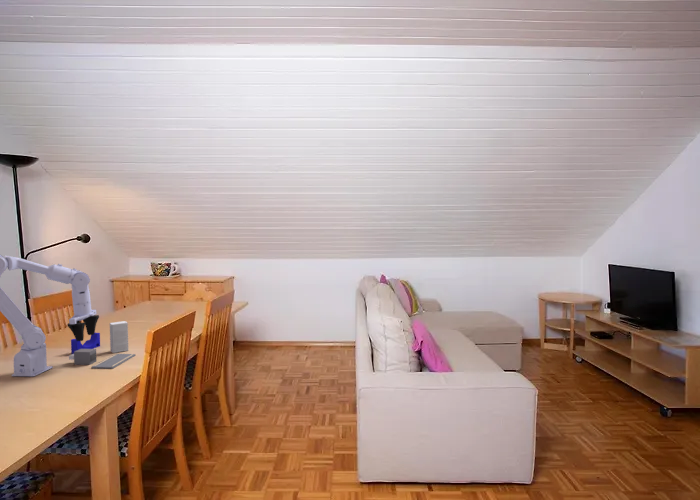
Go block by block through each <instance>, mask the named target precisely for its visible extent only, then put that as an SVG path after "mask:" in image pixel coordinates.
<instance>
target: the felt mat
mask: <svg viewBox="0 0 700 500" xmlns="http://www.w3.org/2000/svg"><path fill="white" fill-rule="evenodd" d="M135 356H136V353H115V354H113V355H111V356H109V357H107V358H105V359H104V360H102V361H100V362H98V363H96V364H94V365H92V366H90V368H91V369H94V370H95V369H97V370H98V369H99V370H101V369H104V370H105V369H106V370H107V369H108V370H109V369H111V370H113V369H115V368H116V367H119V366H121V365H122V364H123V363H125V362H127V361H129V360H131V359H133V357H135Z"/></svg>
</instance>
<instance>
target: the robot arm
mask: <svg viewBox="0 0 700 500" xmlns="http://www.w3.org/2000/svg"><path fill="white" fill-rule="evenodd" d="M6 269H7V270H9V271H14V270H19V269H20V270H22V271H23V270H24V271H28V272H33V273H35V274H40V275H45V277H46V279H47V280H51V281H53V282H57V283H61V284H65V285H69V284H70V285H71V298H72V307H73V315H72V317H70V318H69V319H68V322H69V323H67V327H68V328H69V329H70V330H71V332H72V334H73V336H74V339H76V341H81V342H83V341H84V339H85V338H84V337H85V336H84V334H85V333H84V331H85V329H86V334H87V335H88V336H91V335H94V333H96V327H97V323H98V320H99V318H100V316H99V314H98V313H97V309H92V301H91V300H92V299H91V294H90V293H91V292H90V289H89V288H90V286H89V284H90V282H91V278H90V276H89V275H88V274H87V273H86V272H83V271H81V270H80V269H78V270H77V268H74V267H73V268H70V267H66V266H63V264H62V263H57V264H56V263H55V264H53V263H52V264H51V265H45V264H41V263H38V262H34V261H31V260H27V259H24V258H21V257H17V256H11V255H2V254H0V277H1V276H2V275H3V274H4V272H5V271H6ZM0 312H1V314H2V315H3V316H4V317H5V318H6V319H7V320H8V322H9V324H11V325H12V326H13V328H14V329H15V330H16V331H17V332H18V334H19V335H20V337H21V339H22V341H23V344H22V345H21V346H20V350H19V351H18V352H17V353H16V354H14V356H13V374H11V377H36V376H38V375H41V374H43V373H44V372H46V371H48V370H51V369H53V368H54V367H53V366H51V365H49V366H48V365H47V363H48V362H47V361H48V360H47V343H46V340H47V337H46V335H45V333H44V332H43V330H42V328H41V327H39V326H37V325H35V324H33V323H32V321H31V320H30V319H29V318H28V317H27V316H26V315H25V314H24V313H23V311H22V310H21V309H20V308H19V306H18V305H17V304H16V303H15V302H14V301H13V300H12V299H11V297H10V296H9V295H8V294H7V293H6V291H5V290H4V289H3V288H2V287H1V286H0ZM97 314H98V315H97ZM82 321H83V322H82Z"/></svg>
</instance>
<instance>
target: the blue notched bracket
mask: <svg viewBox="0 0 700 500" xmlns="http://www.w3.org/2000/svg"><path fill="white" fill-rule="evenodd" d="M70 342H71V343H70V349H71V350H70V351H71V354H70V355H72V354H74V352H75V351H77V350H79V349H96V348H99V347H101V333H100V332H95V333H94V335H90V338H89V339H87V340H85V341H84V343H82V341H76V339H75V338H72V339H70Z"/></svg>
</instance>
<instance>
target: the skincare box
mask: <svg viewBox="0 0 700 500" xmlns="http://www.w3.org/2000/svg"><path fill="white" fill-rule="evenodd" d="M128 325H129V322H127V321H125V320H123V321H116V322H110V323H109V340H110V341H109V344H110V346H109V347H110V352H111V353H112V354H114V353H115V354H118V353H120V352H121V353H122V352H126V351H129V326H128Z"/></svg>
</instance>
